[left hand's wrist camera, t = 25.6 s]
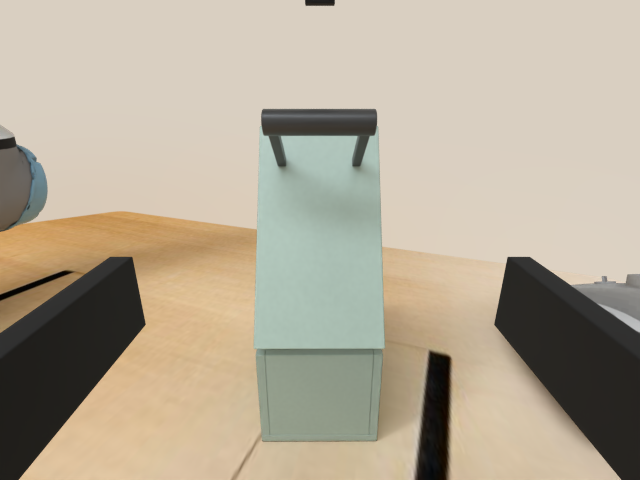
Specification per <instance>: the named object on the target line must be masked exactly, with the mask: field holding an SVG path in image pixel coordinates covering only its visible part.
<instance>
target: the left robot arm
mask: <svg viewBox="0 0 640 480" xmlns="http://www.w3.org/2000/svg"><path fill="white" fill-rule="evenodd" d="M145 325H146V324H145V319H144V314H143V309H142V304H141V299H140V294H139V289H138V284H137V279H136V273H135V268H134V263H133V258H132V257H110V258H108V259H107V260H105V261H104V262H102V263H101V264H99V265H98V266H97V267H95V268H94V269H92V270H91V271H89V272H88V273H86V274H85V275H84V276H82V277H81V278H79V279H78V280H76V281H75V282H73V283H72V284H71V285H69V286H68V287H66V288H65V289H63V290H62V291H61V292H59V293H58V294H56V295H55V296H53V297H52V298H50V299H49V300H48V301H46V302H45V303H43V304H42V305H40V306H39V307H37V308H36V309H35V310H33V311H32V312H30V313H29V314H27V315H26V316H24V317H23V318H22V319H20V320H19V321H17V322H16V323H14V324H13V325H11V326H10V327H9V328H7V329H6V330H4V331H3V332H1V333H0V480H19V479H20V477H21V476H22V475H23V474H24V472H25V471H26V470H27V469H28V468H29V466H30V465H31V464H32V463H33V461H34V460H35V459H36V458H37V457H38V455H39V454H40V453H41V452H42V450H43V449H44V448H45V447H46V446H47V444H48V443H49V442H50V441H51V439H52V438H53V437H54V436H55V435H56V433H57V432H58V431H59V430H60V429H61V427H62V426H63V425H64V424H65V422H66V421H67V420H68V419H69V418H70V416H71V415H72V414H73V413H74V411H75V410H76V409H77V408H78V407H79V405H80V404H81V403H82V402H83V400H84V399H85V398H86V397H87V396H88V394H89V393H90V392H91V391H92V389H93V388H94V387H95V386H96V385H97V383H98V382H99V381H100V380H101V378H102V377H103V376H104V375H105V374H106V372H107V371H108V370H109V369H110V367H111V366H112V365H113V364H114V363H115V361H116V360H117V359H118V358H119V356H120V355H121V354H122V353H123V352H124V350H125V349H126V348H127V347H128V346H129V344H130V343H131V342H132V341H133V339H134V338H135V337H136V336H137V335H138V333H139V332H140V331H141V330H142V328H143V327H144V326H145ZM494 325H495V326H496V327H497V328H498V330H499V331H500V332H501V333H502V335H503V336H504V337H505V338H506V339H507V341H508V342H509V343H510V344H511V346H512V347H513V348H514V349H515V350H516V352H517V353H518V354H519V355H520V356H521V358H522V359H523V360H524V361H525V363H526V364H527V365H528V366H529V367H530V369H531V370H532V371H533V372H534V374H535V375H536V376H537V377H538V378H539V380H540V381H541V382H542V383H543V385H544V386H545V387H546V388H547V389H548V391H549V392H550V393H551V394H552V396H553V397H554V398H555V399H556V400H557V402H558V403H559V404H560V405H561V407H562V408H563V409H564V410H565V411H566V413H567V414H568V415H569V416H570V418H571V419H572V420H573V421H574V422H575V424H576V425H577V426H578V427H579V429H580V430H581V431H582V432H583V433H584V435H585V436H586V437H587V438H588V439H589V441H590V442H591V443H592V444H593V446H594V447H595V448H596V449H597V450H598V452H599V453H600V454H601V455H602V457H603V458H604V459H605V460H606V461H607V463H608V464H609V465H610V466H611V468H612V469H613V470H614V471H615V472H616V474H617V475H618V476H619V477H620V479H621V480H640V332H638V331H636V330H634V329H633V328H631V327H630V326H629V325H627V324H626V323H624V322H623V321H621V320H620V319H618V318H617V317H616V316H614V315H613V314H611V313H610V312H608V311H607V310H605V309H604V308H603V307H601V306H600V305H598V304H597V303H595V302H594V301H592V300H591V299H590V298H588V297H587V296H585V295H584V294H582V293H581V292H579V291H578V290H577V289H575V288H574V287H572V286H571V285H569V284H568V283H567V282H565V281H564V280H562V279H561V278H559V277H558V276H556V275H555V274H554V273H552V272H551V271H549V270H548V269H546V268H545V267H543V266H542V265H541V264H539V263H538V262H536V261H535V260H533V259H532V258H530V257H508V258H507V263H506V268H505V273H504V279H503V284H502V289H501V294H500V299H499V304H498V309H497V314H496V319H495V324H494Z"/></svg>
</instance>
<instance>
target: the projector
mask: <svg viewBox="0 0 640 480" xmlns="http://www.w3.org/2000/svg"><path fill="white" fill-rule="evenodd" d="M594 283H595V284H579V285H571V286H572V287H574V288H575V289H577V290H578V291H579V292H581V293H582V294H584V295H585V296H587V297H588V298H590V299H591V300H592V301H594V302H595V303H597V304H598V305H600V306H601V307H603V308H604V309H605V310H607V311H608V312H610V313H611V314H613V315H614V316H616V317H617V318H618V319H620V320H621V321H623V322H624V323H626V324H627V325H629V326H630V327H631V328H633V329H634V330H636V331H638V332H640V274H628V275H627V280H626V283H616V282H615V281H612V282H607V277H606V276H602V282H594Z"/></svg>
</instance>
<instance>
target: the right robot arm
mask: <svg viewBox="0 0 640 480" xmlns="http://www.w3.org/2000/svg"><path fill="white" fill-rule="evenodd" d="M305 4H306V6H334V4H335V0H305ZM46 199H47V180H46V176H45V173H44V170H43V168H42V166H41V164H40V163H38V162H36V157H35V155H34V154H33V153H32V152H31V151H29V150H28V149H26V148H24V147H22V146H19V145H16V141H15V137H14V134H13V133H11V132H10V131H9V130H7V129H6V128H4V127H3V126H1V125H0V232H1V231H5V230H9V229H11V228H13V227H14V226H17V225H20V224H23V223H27V222H29V221H31V220H33V219H34V218H36V217H37V216H38V214H39V212H41V210H42V209H43V208H44V205H45V203H46Z"/></svg>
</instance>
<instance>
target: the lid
mask: <svg viewBox="0 0 640 480" xmlns="http://www.w3.org/2000/svg"><path fill="white" fill-rule="evenodd" d="M261 123H262V126H260V143H259V179H258V214H257V250H256V287H255V323H254V349H385V333H384V300H383V267H382V235H381V201H380V168H379V134H378V126H377V112H376V109H263V110H262V114H261Z"/></svg>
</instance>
